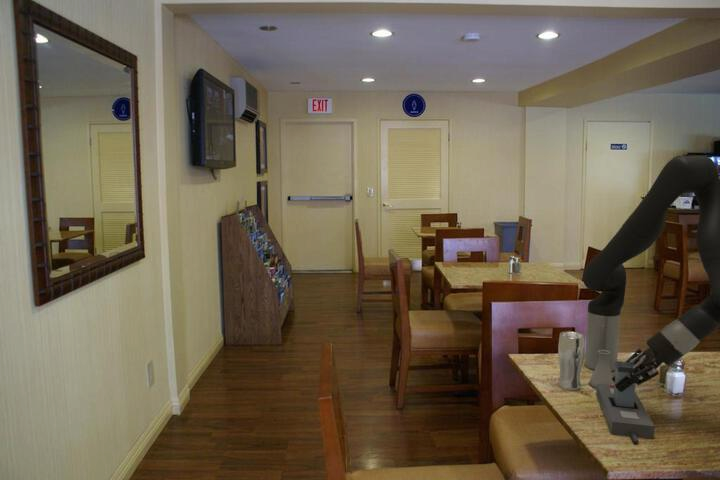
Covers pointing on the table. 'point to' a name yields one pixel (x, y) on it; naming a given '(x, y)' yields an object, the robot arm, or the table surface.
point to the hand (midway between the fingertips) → (616, 385)
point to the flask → (602, 370)
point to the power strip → (624, 415)
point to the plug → (628, 394)
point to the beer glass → (570, 359)
